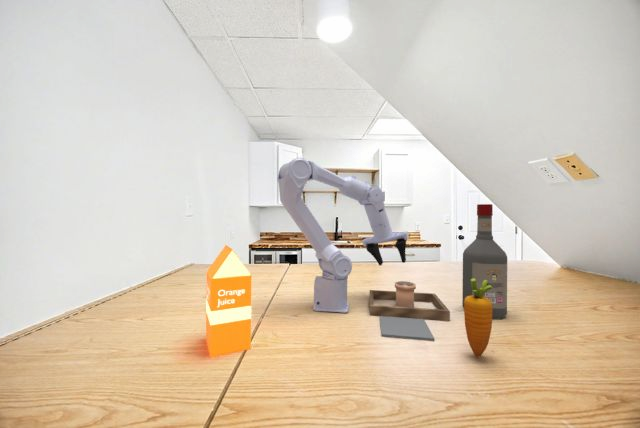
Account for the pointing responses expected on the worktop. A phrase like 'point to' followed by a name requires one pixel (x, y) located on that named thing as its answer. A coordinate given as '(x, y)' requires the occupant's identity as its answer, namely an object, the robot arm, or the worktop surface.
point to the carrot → (478, 318)
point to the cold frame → (409, 312)
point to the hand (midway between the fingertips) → (392, 262)
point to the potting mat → (405, 328)
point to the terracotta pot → (405, 294)
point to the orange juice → (228, 305)
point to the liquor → (486, 264)
